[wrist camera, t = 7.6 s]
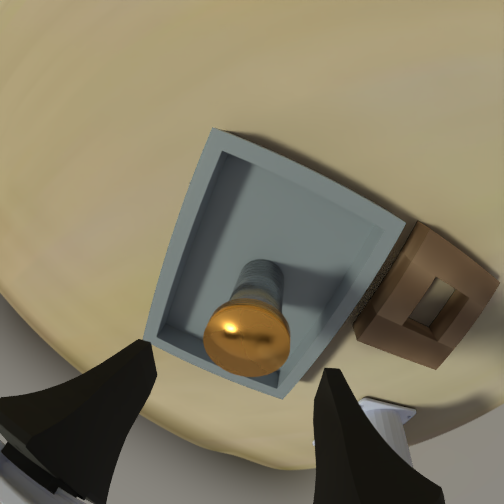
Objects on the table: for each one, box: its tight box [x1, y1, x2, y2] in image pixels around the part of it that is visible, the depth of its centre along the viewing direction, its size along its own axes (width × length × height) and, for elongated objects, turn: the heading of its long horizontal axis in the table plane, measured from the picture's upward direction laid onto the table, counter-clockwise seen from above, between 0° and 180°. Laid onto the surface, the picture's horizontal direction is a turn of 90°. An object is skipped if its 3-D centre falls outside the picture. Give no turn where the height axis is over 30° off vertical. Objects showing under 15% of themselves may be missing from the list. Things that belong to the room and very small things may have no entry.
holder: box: [353, 221, 500, 370], centre depth 17 cm, size 9×9×2 cm
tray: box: [143, 127, 406, 399], centre depth 18 cm, size 16×12×2 cm
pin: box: [203, 259, 291, 377], centre depth 15 cm, size 4×4×7 cm
